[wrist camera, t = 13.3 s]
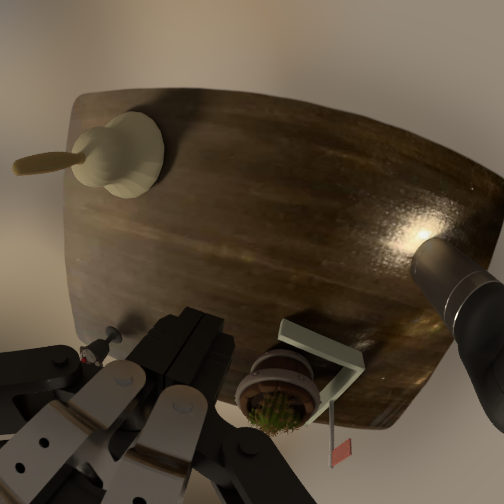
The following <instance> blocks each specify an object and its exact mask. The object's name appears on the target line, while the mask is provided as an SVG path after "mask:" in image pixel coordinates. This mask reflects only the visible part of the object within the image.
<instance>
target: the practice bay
mask: <svg viewBox="0 0 504 504" xmlns="http://www.w3.org/2000/svg"><path fill="white" fill-rule="evenodd" d="M278 339H279V340H281V341H284V342H286V343H288V344H291V345H293V346H295V347H298V348H300V349H302V350H305V351H307V352H309V353H312V354H314V355H317V356H319V357H322V358H324V359H327V360H329V361H332V362H334V363H337V364H339V365H342V366H344V367H343V368H342V369H341V371H340V372H339V373H338V374H337V375H336V376H335V377H334V378H333V379H332V381H331V382H330V383H329V384H328V385H327V386H326V387H325V388H324V389H323V390H322V391H321V392H320V393H319V394H320V401H322V403H321V404H320V405H319V409H318V410H317V412H316V413H315V414H314V415H313V416H312V417H311V418H310V419H309V420H308V421H307V422H306V423H305V424H304V425H303V426H308V425H309V424H310V423H311V422H312V421H314V420H315V419H316V418H317V417H318V416H319V415H320V414H321V413H322V412H324V411H325V410H326V409H327V408H328V407H329V411H330V430H329V431H330V433H329V469H332V468H333V467H334V465H336V464H338V463H339V462H341V461H343V460H344V459H346V458H347V457H348V456H350V455H352V454H351V439H350V438H349V439H348V440H346V441H345V442H344V443H342V444H341V445H340V446H338V447H337V448H335V449H334V404H333V402H334V401H335V400H336V399H337V398H338V397H339V396H340V395H341V394H342V393H343V392H344V391H345V390H346V389H347V388H348V387H349V386H350V385H351V384H352V383H353V382H354V381H355V380H356V379H357V378H358V377H359V376H360V374H361V373H362V372H363V371H364V370H365V366H364V361H363V356H362V352H360V351H358V350H356V349H353V348H351V347H348V346H346V345H343V344H341V343H339V342H336V341H334V340H332V339H329V338H327V337H325V336H322V335H320V334H318V333H315V332H313V331H311V330H309V329H306V328H304V327H302V326H300V325H297V324H295V323H293V322H291V321H288V320H286V319H284V318H283V320H282V321H281V325H280V330H279V335H278ZM235 401H236V400H235Z"/></svg>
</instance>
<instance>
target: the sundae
mask: <svg viewBox="0 0 504 504" xmlns="http://www.w3.org/2000/svg"><path fill="white" fill-rule="evenodd" d="M106 334H107V336H108V338H107V339H106V340H103V339H98V340H96V341H94V342H92V343H91V344H90V345H88V346H86V347H82V346H81V347H80V354H81V357H80V361H81V362H84V363H88V364H92V365H96V366H100V367H103V364H102V362H103V361H104V359H105V358H106V356H107V354H108V353H109V343H110V342H111V341H112V342H114V343H121V341H122V338H121V335H120V334H119V332H118V331H117V330H116V329H115V328H113V327H107V328H106Z"/></svg>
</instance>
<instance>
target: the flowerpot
mask: <svg viewBox="0 0 504 504" xmlns="http://www.w3.org/2000/svg"><path fill="white" fill-rule="evenodd" d="M313 377H314V374H313V370H312V368H311V365H310V363H309V362H308V360H307V359H306V358H305V357H304V356H302V355H301V354H299V353H297V352H294V351H291V350H284V349H273V350H270V351H268V352H266V353H264V354H262V355H261V356H260V357H259V358H258V359H257V360H256V361H255V363H254V364H253V366H252V368H251V374H249V375H248V376H246V377H245V378H244V379H243V380H242V381H241V383H240V384H239V386H238V388H237V391H236V394H235V397H236V403H237V405H238V407H239V408H240V409H241V411H242V413H243V414H244V415H245V416H246V417H247V419H248V420H249V421H251V424H256V426H257V427H258V426H261V427H260V429H262V430H261V431H262V432H267V433H266V434H268V436H269V437H270V432H271V434H273V435H275V436H276V433H277V431H280V430H281V429H283V430H286V431H285V432H287V433H288V429H292V431H293V429H295V428H299V427H301V426H303V425H304V424H305V423H306V422H307V421H308V420H309V419H310V418H311V417H312V416H313V415H314V414H315V413H316V412H317V410H318V409H319V405H320V404H321V403H322V401H320V394H319V391H318V388H317V387H316V385H315V384H314V383H313ZM256 429H257V428H256ZM296 430H297V429H296ZM275 432H276V433H275ZM277 434H278V433H277ZM271 436H272V435H271Z"/></svg>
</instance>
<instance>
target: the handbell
mask: <svg viewBox="0 0 504 504" xmlns="http://www.w3.org/2000/svg"><path fill="white" fill-rule="evenodd" d="M163 158H164V144H163V139H162V135H161V131H160V130H159V128H158V127H157V125H156V124H155V122H154V121H153V120H152V119H151V118H149V117H148V116H146V115H145V114H143V113H140V112H132V111H129V112H126V113H123V114H120V115H117V116H116V117H115V118H113V119H112V120H111V121H110V122H109V123H107V124H106V126H105V127H95V128H92V129H89V130H87V131H85V132H84V133H83V134H82V135H81V136H80V137H79V138H78V139H77V141H76V142H75V144H74V146H73V149H72V153H68V152H48V153H42V154H37V155H32V156H28V157H25V158H21V159H19V160H16V161H15V162H14V164H13V166H12V170H13V173H14V174H15V175H17V176H22V175H33V174H34V175H35V174H43V173H49V172H54V171H58V170H61V169H64V168H67V167H70V166H72V171H73V173H74V175H75V176H76V178H77V179H78V180H79V181H80V182H81V183H82V184H84V185H87V186H90V187H100V186H103V187H105V188H106V189H107V190H108V191H109V192H110V193H112V194H113V195H115V196H118V197H121V198H124V199H126V198H134V197H138V196H139V195H141V194H143V193H144V192H146V191H148V190H149V189H150V187H151V186H152V185H153V183H154V182H155V181H156V180H157V178H158V176H159V173H160V170H161V168H162V165H163Z"/></svg>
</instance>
